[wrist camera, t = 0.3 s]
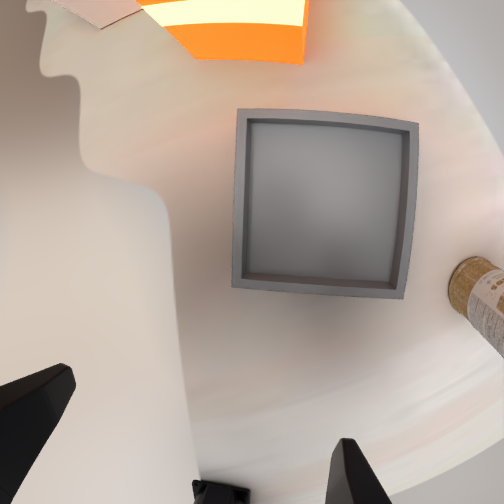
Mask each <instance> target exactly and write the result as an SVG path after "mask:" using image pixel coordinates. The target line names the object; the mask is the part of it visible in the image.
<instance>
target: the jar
mask: <svg viewBox="0 0 504 504" xmlns="http://www.w3.org/2000/svg"><path fill="white" fill-rule="evenodd" d="M51 1H52V2H54V3H56V4H58V5H60V6H62V7H63V8H65V9H67V10H69V11H70V12H72V13H74V14H76V15H77V16H79V17H81V18H83V19H84V20H86V21H88V22H89V23H91V24H93V25H94V26H96V27H98V28H99V29H101V28H103V27H105V26H107V25H109V24H111V23H113V22H115V21H117V20H119V19H121V18H124V17H126V16H128V15H130V14H132V13H134V12H137V11H139V10H141V9H143V8H142V6H141V5H140V4H139V3H138V2H137V1H136V0H51Z"/></svg>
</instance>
